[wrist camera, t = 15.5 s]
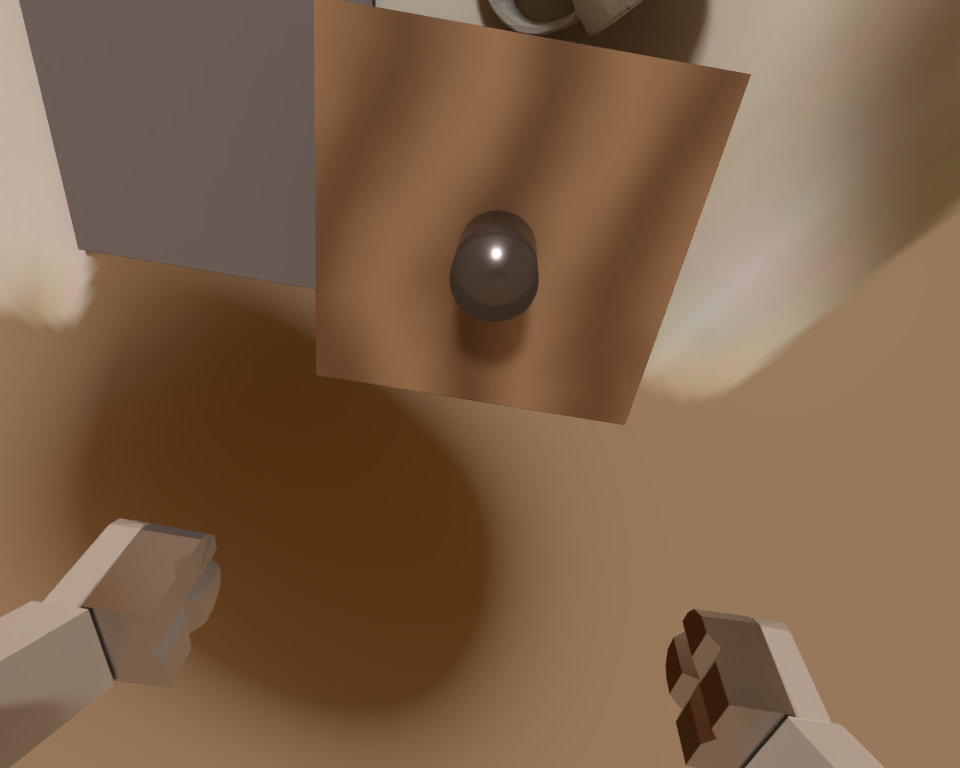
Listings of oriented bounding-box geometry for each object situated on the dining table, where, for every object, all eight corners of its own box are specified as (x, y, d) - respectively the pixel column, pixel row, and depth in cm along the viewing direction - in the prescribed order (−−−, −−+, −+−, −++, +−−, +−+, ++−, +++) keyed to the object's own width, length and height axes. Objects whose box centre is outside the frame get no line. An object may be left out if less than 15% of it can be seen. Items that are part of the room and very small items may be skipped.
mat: (377, -54, 27) (374, -56, 26) (362, 293, 36) (360, 296, 36) (-3, -123, 26) (-11, -126, 26) (83, 246, 36) (78, 249, 35)
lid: (723, 70, 24) (793, 80, 18) (615, 390, 33) (637, 473, 27) (339, 1, 24) (274, -13, 18) (334, 344, 33) (290, 417, 27)
